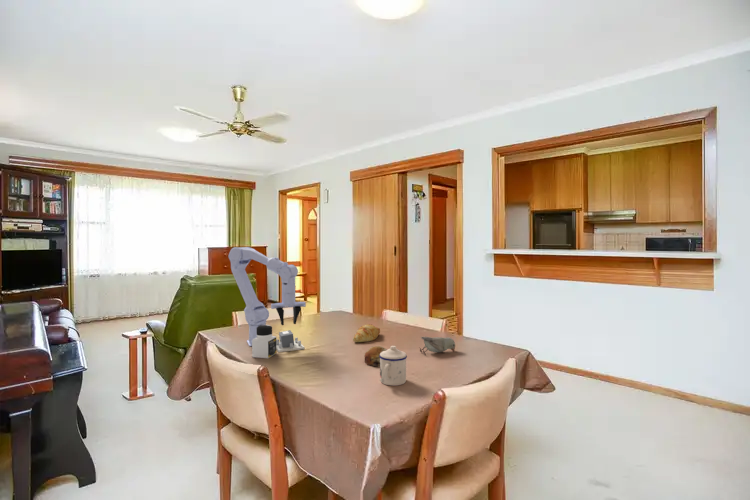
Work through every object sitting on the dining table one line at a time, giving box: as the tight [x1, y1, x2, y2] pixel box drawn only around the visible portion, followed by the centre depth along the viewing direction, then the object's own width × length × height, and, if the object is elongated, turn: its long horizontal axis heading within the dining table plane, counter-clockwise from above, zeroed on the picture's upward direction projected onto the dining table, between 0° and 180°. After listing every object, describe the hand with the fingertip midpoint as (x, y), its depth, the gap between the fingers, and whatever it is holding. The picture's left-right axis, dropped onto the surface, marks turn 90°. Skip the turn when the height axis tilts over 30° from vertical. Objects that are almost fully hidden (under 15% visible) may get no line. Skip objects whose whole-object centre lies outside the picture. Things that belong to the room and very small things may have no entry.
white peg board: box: [276, 337, 305, 353], centre depth 170 cm, size 12×11×3 cm
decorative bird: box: [418, 336, 456, 356], centre depth 163 cm, size 5×16×8 cm, turn 111°
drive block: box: [278, 329, 295, 348], centre depth 170 cm, size 7×5×5 cm
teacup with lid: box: [379, 345, 408, 387], centre depth 129 cm, size 12×9×12 cm
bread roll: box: [364, 345, 388, 367], centre depth 150 cm, size 10×10×8 cm
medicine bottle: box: [251, 324, 277, 359], centre depth 158 cm, size 7×7×12 cm
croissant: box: [352, 323, 381, 343], centre depth 185 cm, size 21×10×8 cm, turn 149°
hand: (288, 324), depth 170 cm, fingers open, 5 cm apart
